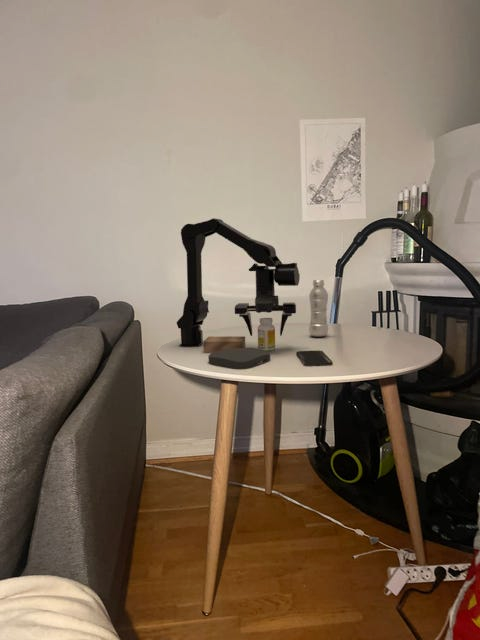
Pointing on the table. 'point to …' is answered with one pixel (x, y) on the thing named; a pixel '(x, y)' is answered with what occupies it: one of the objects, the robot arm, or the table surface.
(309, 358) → the phone
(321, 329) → the plastic bottle
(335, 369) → the table surface
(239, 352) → the media streaming box
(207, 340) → the block
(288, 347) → the table surface
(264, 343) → the supplement bottle
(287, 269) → the robot arm
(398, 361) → the table surface
